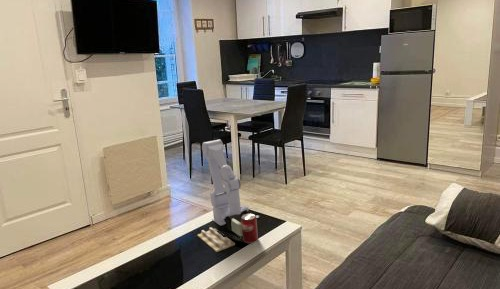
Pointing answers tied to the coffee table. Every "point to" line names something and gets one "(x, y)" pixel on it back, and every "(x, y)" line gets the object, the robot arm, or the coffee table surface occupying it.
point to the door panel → (236, 227)
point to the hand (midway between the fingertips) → (236, 227)
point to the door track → (215, 240)
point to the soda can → (249, 228)
